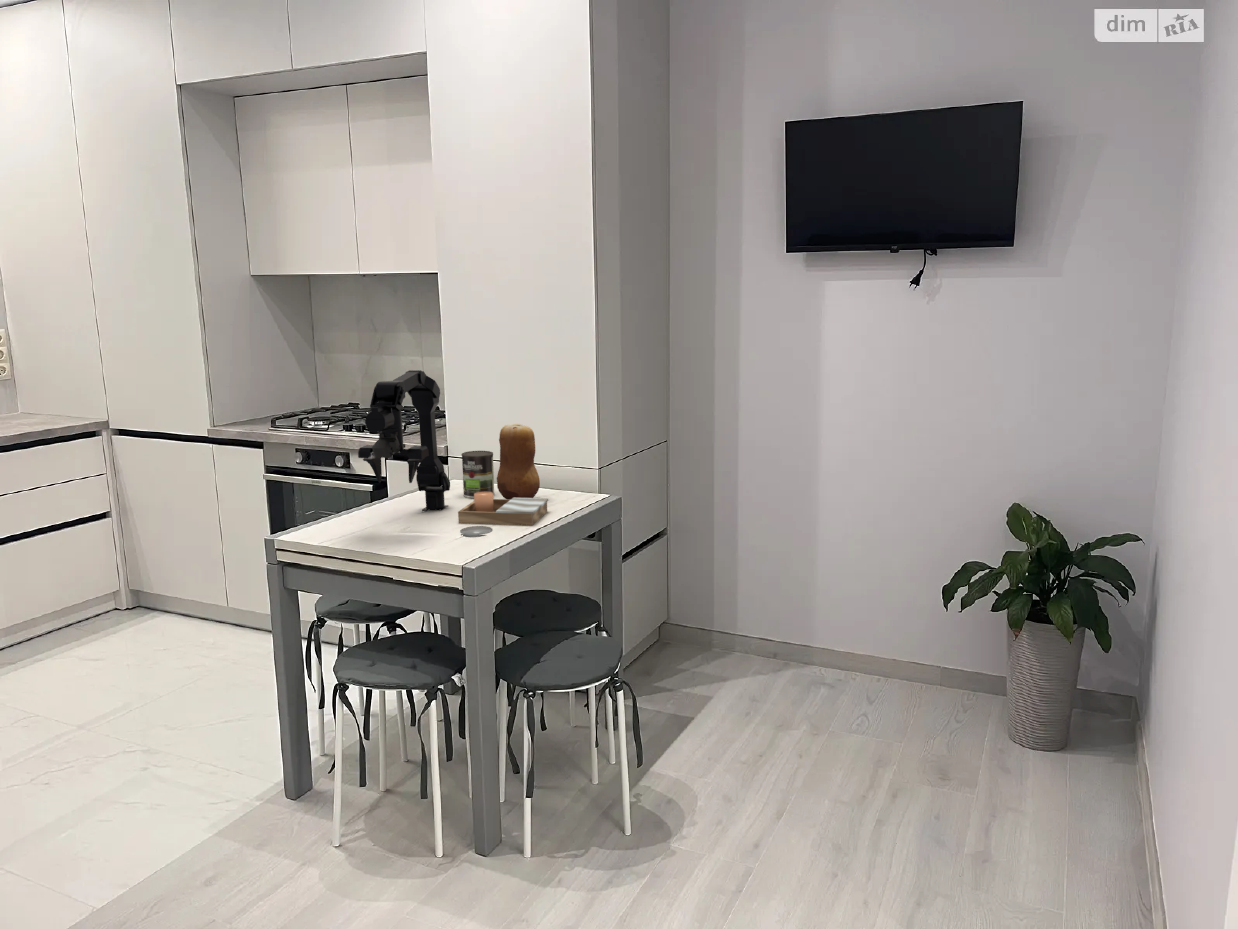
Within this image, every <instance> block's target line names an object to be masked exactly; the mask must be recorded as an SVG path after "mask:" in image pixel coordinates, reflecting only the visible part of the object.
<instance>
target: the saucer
mask: <svg viewBox="0 0 1238 929" xmlns="http://www.w3.org/2000/svg"><path fill="white" fill-rule="evenodd" d="M491 532H493V528H492V527H491V526H486V525H474V526H473V525H472V526H471V525H470V526H467V527H464V528H461V529H460V531H459V533H460V536H462V535H463V537H468V538H479V537H486V536H488V535H487V534H490V533H491Z"/></svg>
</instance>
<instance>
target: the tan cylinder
mask: <svg viewBox="0 0 1238 929" xmlns="http://www.w3.org/2000/svg"><path fill="white" fill-rule="evenodd" d="M493 499H494V496H493V492H487V491H484V492H477V493H474V498H473V501H474V505H475V511H479V512H494V504H493Z"/></svg>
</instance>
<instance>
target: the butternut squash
mask: <svg viewBox="0 0 1238 929" xmlns="http://www.w3.org/2000/svg"><path fill="white" fill-rule="evenodd" d="M498 441H499V468H498V471H497V476H496V484H497V485H496V487H497V490H498V492H499V494H501V497H503V499H512V498H535V496H536V495H537V493H538V492H539V490H540V486H541V485H540V476H539V473H538V470H537V468H536V466H535V456H536V438H535V433H534V431H533V429H532V428H531V427H529V426H527V425H523V424H520V423H513V424H505V425H504V426H502V428H501V429H500V432H499V438H498Z"/></svg>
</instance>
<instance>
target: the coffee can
mask: <svg viewBox="0 0 1238 929" xmlns="http://www.w3.org/2000/svg"><path fill="white" fill-rule="evenodd" d="M461 464H462V481H463V482H462V485H463V487H462V488H463V497H464V496H465V497H464V498H467V497H468V498H467V499H474V493H477V492H484V491H487V492H493V497H494V496H495V476H494V473H495V472H494V452H492V451H490V450H470V451H464V452H462V453H461Z"/></svg>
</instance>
